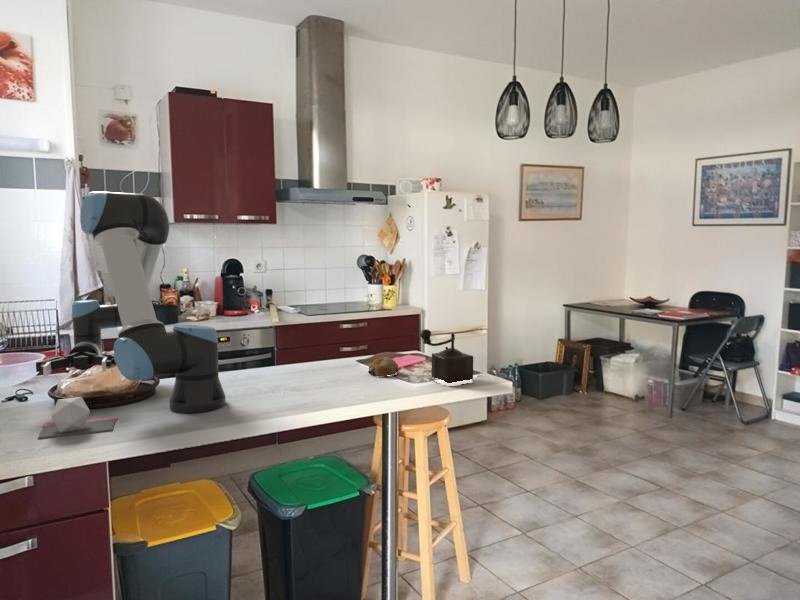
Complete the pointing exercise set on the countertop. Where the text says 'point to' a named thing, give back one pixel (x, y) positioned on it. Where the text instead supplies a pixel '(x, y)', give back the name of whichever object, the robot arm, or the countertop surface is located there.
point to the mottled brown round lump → (383, 367)
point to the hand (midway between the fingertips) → (74, 369)
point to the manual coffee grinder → (449, 361)
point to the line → (86, 421)
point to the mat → (89, 428)
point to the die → (70, 414)
